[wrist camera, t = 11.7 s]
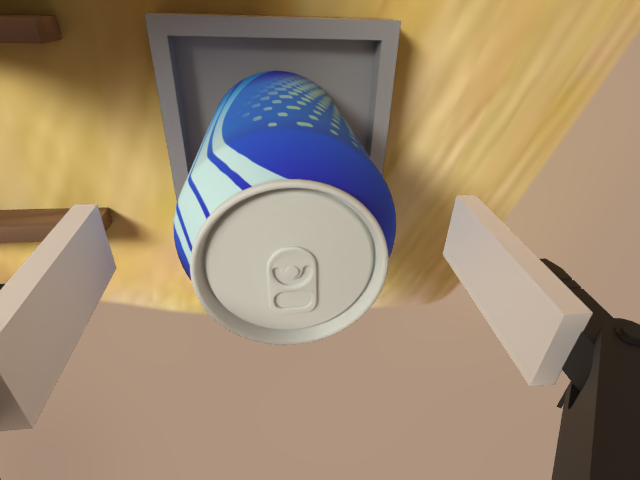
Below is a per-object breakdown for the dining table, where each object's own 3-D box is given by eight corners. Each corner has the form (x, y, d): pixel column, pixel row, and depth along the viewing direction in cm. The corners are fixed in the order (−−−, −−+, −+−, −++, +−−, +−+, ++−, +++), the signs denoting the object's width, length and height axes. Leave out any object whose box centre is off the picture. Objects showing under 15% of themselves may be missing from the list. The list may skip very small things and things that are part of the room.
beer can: (188, 146, 27) (110, 301, 13) (262, 36, 24) (261, 87, 10) (289, 212, 30) (311, 390, 16) (364, 123, 27) (466, 248, 14)
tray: (154, 12, 23) (144, 13, 21) (390, 19, 25) (400, 21, 23) (189, 223, 30) (183, 239, 28) (368, 218, 32) (375, 233, 30)
